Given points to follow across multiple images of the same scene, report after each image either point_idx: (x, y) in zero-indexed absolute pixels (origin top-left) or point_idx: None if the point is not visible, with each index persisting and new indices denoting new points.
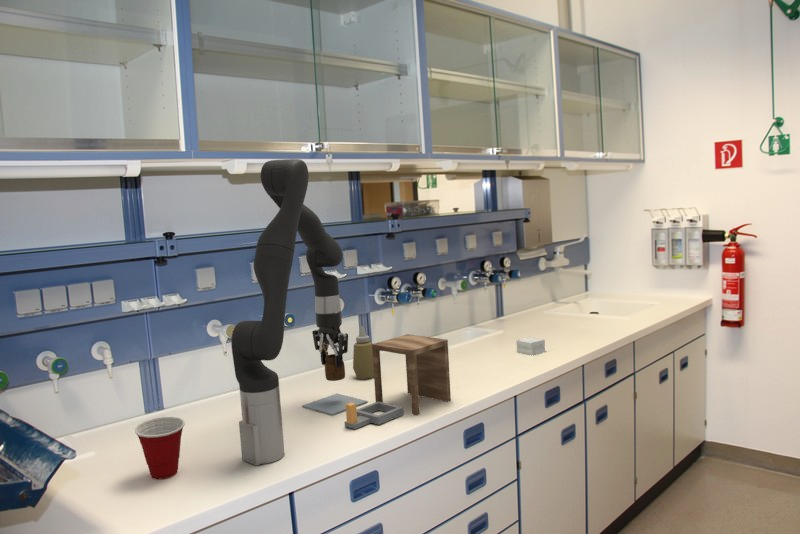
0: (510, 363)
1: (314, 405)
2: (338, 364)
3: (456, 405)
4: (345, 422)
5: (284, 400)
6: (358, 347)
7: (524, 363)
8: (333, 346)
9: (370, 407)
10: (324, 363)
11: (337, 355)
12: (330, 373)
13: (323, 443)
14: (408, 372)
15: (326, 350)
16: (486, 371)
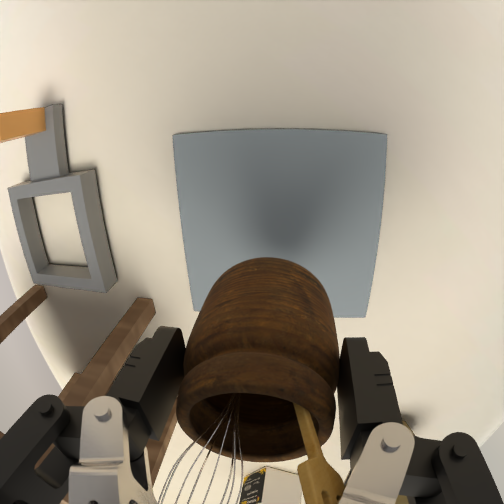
0: (192, 499)
1: (336, 163)
2: (146, 347)
3: (53, 361)
4: (50, 106)
5: (498, 166)
6: (396, 500)
7: (178, 498)
8: (70, 473)
9: (84, 242)
10: (343, 352)
11: (106, 401)
12: (233, 283)
13: (37, 12)
14: (154, 442)
15: (352, 467)
16: (186, 483)
